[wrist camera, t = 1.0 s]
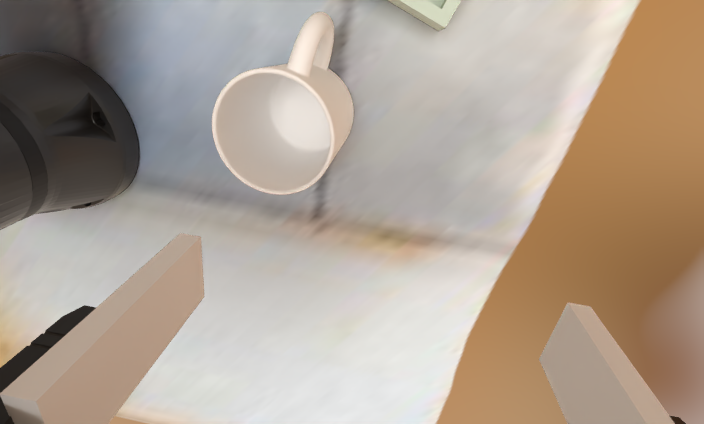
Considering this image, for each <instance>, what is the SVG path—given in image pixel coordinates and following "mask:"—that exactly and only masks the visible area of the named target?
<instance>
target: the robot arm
mask: <svg viewBox="0 0 704 424" xmlns="http://www.w3.org/2000/svg"><path fill="white" fill-rule="evenodd" d="M138 159H139V148H138V141H137V136H136V132H135V129H134V126H133V123H132V121H131V118H130V116H129V114H128V112H127V110H126V108H125V107H124V105H123V103H122V102H121V100H120V99H119V98H118V96H117V95H116V94H115V92H114V91H113V90H112V89H111V88H110V86H109V85H108V84H107V83H106V82H105V81H104V80H103V79H102V78H101V77H99V76H98V75H97V74H96V73H95V72H93V71H92V70H91V69H89V68H88V67H86V66H85V65H83V64H81V63H80V62H78V61H76V60H74V59H72V58H69V57H67V56H64V55H61V54H57V53H52V52H16V53H11V54H6V55H3V56H1V57H0V230H1V229H3V228H5V227H7V226H10V225H12V224H14V223H16V222H18V221H20V220H22V219H25V218H27V217H29V216H31V215H34V214H39V213H47V212H55V211H61V210H66V209H70V208H72V209H78V208H87V207H92V206H95V205H98V204H101V203H103V202H105V201H107V200H109V199H111V198H113V197H115V196H117V195H119V194H120V193H122V192H123V191H124V190H125V189H126V188H127V187H128V186H129V185H130V183H131V182H132V180H133V178H134V176H135V173H136V170H137V166H138ZM203 298H204V283H203V266H202V249H201V237H199V236H194V235H188V234H182V233H180V234H179V235H178V236H177V237H175V238H174V239H173V240H172V241H171V242H170V243H169V244H168V245H166V246H165V247H164V248H163V249H162V250H161V251H160V252H159V253H157V254H156V255H155V256H154V257H153V258H152V259H151V260H150V261H148V262H147V263H146V264H145V265H144V266H143V267H142V268H141V269H139V270H138V271H137V272H136V273H135V274H134V275H133V276H132V277H130V278H129V279H128V280H127V281H126V282H125V283H124V284H123V285H121V286H120V287H119V288H118V289H117V290H116V291H115V292H114V293H112V294H111V295H110V296H109V297H108V298H107V299H106V300H105V301H103V302H102V303H101V304H100V305H99V306H98V307H97V308H95V307H90V306H82V307H80V308H79V309H77V310H75V311H73V312H71V313H69V314H67V315H65V316H63V317H62V318H60V319H59V320H58V321H57V322H55V323H54V324H53V325H52V326H51V327H49V328H48V329H47V330H46V332H45V333H44V334H41V335H40V336H39V337H37V338H36V339H35V340H34V341H32V342H31V345H30V346H26V347H25V348H24V349H23V350H22V351H20V352H19V353H18V354H17V355H16V356H14V357H13V358H12V359H11V360H9V361H8V362H7V363H6V364H5V365H3V366H2V367H1V368H0V424H109V422H110V421H111V420H112V418H113V417H114V416H115V415H116V413H117V412H118V411H119V409H120V408H121V407H122V405H123V404H124V403H125V401H126V400H127V399H128V397H129V396H130V395H131V393H132V392H133V391H134V389H135V388H136V387H137V385H138V384H139V383H140V381H141V380H142V379H143V377H144V376H145V375H146V373H147V372H148V371H149V369H150V368H151V367H152V365H153V364H154V363H155V361H156V360H157V359H158V357H159V356H160V355H161V353H162V352H163V351H164V350H165V348H166V347H167V346H168V344H169V343H170V342H171V340H172V339H173V338H174V336H175V335H176V334H177V332H178V331H179V330H180V328H181V327H182V326H183V324H184V323H185V322H186V320H187V319H188V318H189V316H190V315H191V314H192V312H193V311H194V310H195V308H196V307H197V306H198V304H199V303H200V302H201V300H202V299H203ZM539 360H540V362H541V365H542V367H543V369H544V371H545V374H546V376H547V378H548V380H549V383H550V385H551V387H552V390H553V392H554V394H555V396H556V399H557V401H558V403H559V405H560V407H561V410H562V412H563V414H564V417H565V419H566V421H567V423H568V424H686V423H685V422H683V421H682V420H681V419H680V418H679V417H674V416H669V415H668V413H667V412H666V411H665V409H664V408H663V407H662V405H661V404H660V402H659V401H658V400H657V398H656V397H655V395H654V394H653V393H652V392H651V390H650V389H649V387H648V386H647V385H646V383H645V382H644V380H643V379H642V377H641V376H640V375H639V373H638V372H637V371H636V369H635V368H634V366H633V365H632V364H631V362H630V361H629V359H628V358H627V357H626V356H625V354H624V353H623V351H622V350H621V348H620V347H619V346H618V344H617V343H616V341H615V340H614V339H613V337H612V336H611V335H610V333H609V332H608V330H607V329H606V328H605V326H604V325H603V323H602V322H601V321H600V319H599V318H598V317H597V315H596V314H595V312H594V311H593V310H592V308H591V307H590V306H585V305H579V304H573V303H567V305H566V307H565V309H564V311H563V313H562V315H561V317H560V319H559V321H558V323H557V325H556V327H555V329H554V331H553V333H552V334H551V336H550V338H549V340H548V342H547V344H546V346H545V348H544V350H543V352H542V354H541V356H540V358H539Z"/></svg>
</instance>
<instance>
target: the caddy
mask: <svg viewBox="0 0 704 424" xmlns="http://www.w3.org/2000/svg"><path fill="white" fill-rule="evenodd" d="M387 1H389V2H391V3H392V4H394V5H396V6H397V7H399V8H401V9H402V10H404V11H406V12H407V13H409V14H411V15H412V16H414V17H416V18H417V19H419V20H421V21H422V22H424V23H426V24H428V25H429V26H431V27H433V28H434V29H436V30H438V31H440V30H442V29H444V28H446V26H447V24H448V23H449V21H450V19H451V17H452V16H453V14H454V12H455V10H456V9H457V7H458V5H459V3H460V2H461V0H387Z"/></svg>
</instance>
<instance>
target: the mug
mask: <svg viewBox="0 0 704 424" xmlns="http://www.w3.org/2000/svg"><path fill="white" fill-rule="evenodd" d="M333 42H334V25H333V21H332V19H331V18H330V16H329V15H328V14H326V13H324V12H317V13H315V14H313V15H311V16H310V17H309V18H308V19H307V21H306V22H305V23H304V25H303V27H302V28H301V30H300V32H299V34H298V37H297V39H296V41H295V44H294V47H293V49H292V52H291V55H290V58H289V61H288V64H283V65H276V66H270V67H264V68H257V69H253V70H249V71H246V72H244V73H241V74H239V75H238V76H236V77H235V78H233V79H232V80H231V81H230V82H229V83H227V85H226V86H225V87H224V88H223V89H222V91H221V93H220V94H219V96H218V98H217V101H216V103H215V106H214V110H213V115H212V132H213V138H214V142H215V145H216V148H217V151H218V153H219V155H220V157H221V159H222V160H223V162H224V163H225V165H226V166H227V167H228V169H229V170H230V171H231V172H232V173H233V174H234V175H235V176H236V177H237V178H238V179H239V180H241V181H242V182H243V183H245V184H246V185H248V186H250V187H252V188H254V189H256V190H258V191H261V192H264V193H269V194H277V195H285V194H292V193H296V192H300V191H302V190H304V189H306V188H308V187H310V186H311V185H313V184H314V183H315V182H316V181H318V180H319V179H320V178H321V176H322V175H323V174H324V173H325V171H326V170H327V168H328V167H329V165H330V163H331V162H332V160H333V159H334V157H335V156H336V154H337V153H338V151H339V150H340V148H341V147H342V145H343V144H344V142H345V140H346V139H347V137H348V135H349V133H350V131H351V127H352V124H353V118H354V109H353V102H352V98H351V95H350V93H349V91H348V89H347V87H346V85H345V84H344V82H343V81H342V80H341V79H340V78H339V76H337V75H336V74H335V73H334V72H333V71H331V70H330V69H328V66H329V62H330V58H331V53H332V48H333Z"/></svg>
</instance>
